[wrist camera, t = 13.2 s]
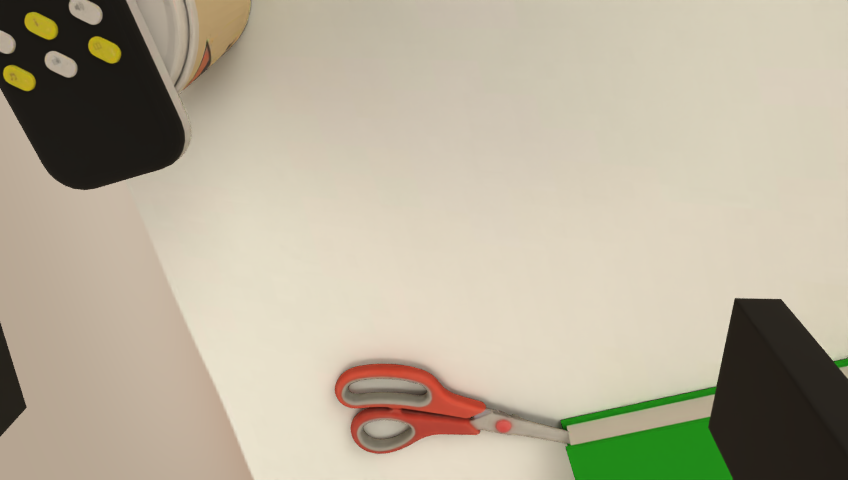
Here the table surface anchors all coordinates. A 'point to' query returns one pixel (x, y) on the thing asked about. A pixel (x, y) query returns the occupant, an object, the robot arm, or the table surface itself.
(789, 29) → the table surface
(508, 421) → the scissors
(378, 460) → the table surface
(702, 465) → the book
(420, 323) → the table surface
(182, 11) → the coffee cup
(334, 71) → the table surface
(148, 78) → the remote control
